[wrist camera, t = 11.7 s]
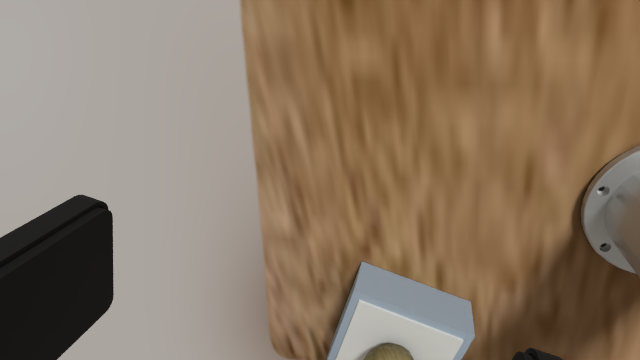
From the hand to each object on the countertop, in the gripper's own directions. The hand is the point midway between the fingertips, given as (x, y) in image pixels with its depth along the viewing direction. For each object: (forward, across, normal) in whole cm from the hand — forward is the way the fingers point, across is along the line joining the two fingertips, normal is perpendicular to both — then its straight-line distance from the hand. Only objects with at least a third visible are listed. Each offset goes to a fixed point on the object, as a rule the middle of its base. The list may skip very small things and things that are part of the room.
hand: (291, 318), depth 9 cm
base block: (+30, -8, +26) cm, 40 cm away
